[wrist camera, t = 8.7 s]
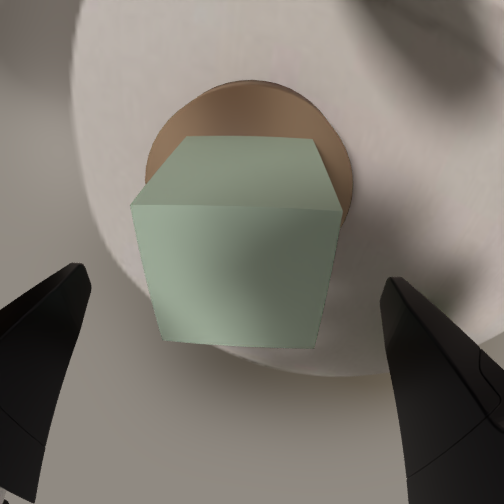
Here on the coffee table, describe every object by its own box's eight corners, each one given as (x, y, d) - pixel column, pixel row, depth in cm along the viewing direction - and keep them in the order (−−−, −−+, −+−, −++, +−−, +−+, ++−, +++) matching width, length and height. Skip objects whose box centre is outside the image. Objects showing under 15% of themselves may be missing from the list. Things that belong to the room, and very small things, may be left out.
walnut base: (348, 86, 13) (365, 96, 11) (327, 245, 19) (335, 278, 16) (158, 83, 14) (135, 92, 11) (173, 238, 19) (159, 270, 16)
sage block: (312, 139, 12) (342, 211, 7) (302, 244, 15) (314, 348, 10) (186, 136, 12) (130, 204, 7) (195, 240, 15) (162, 340, 10)
